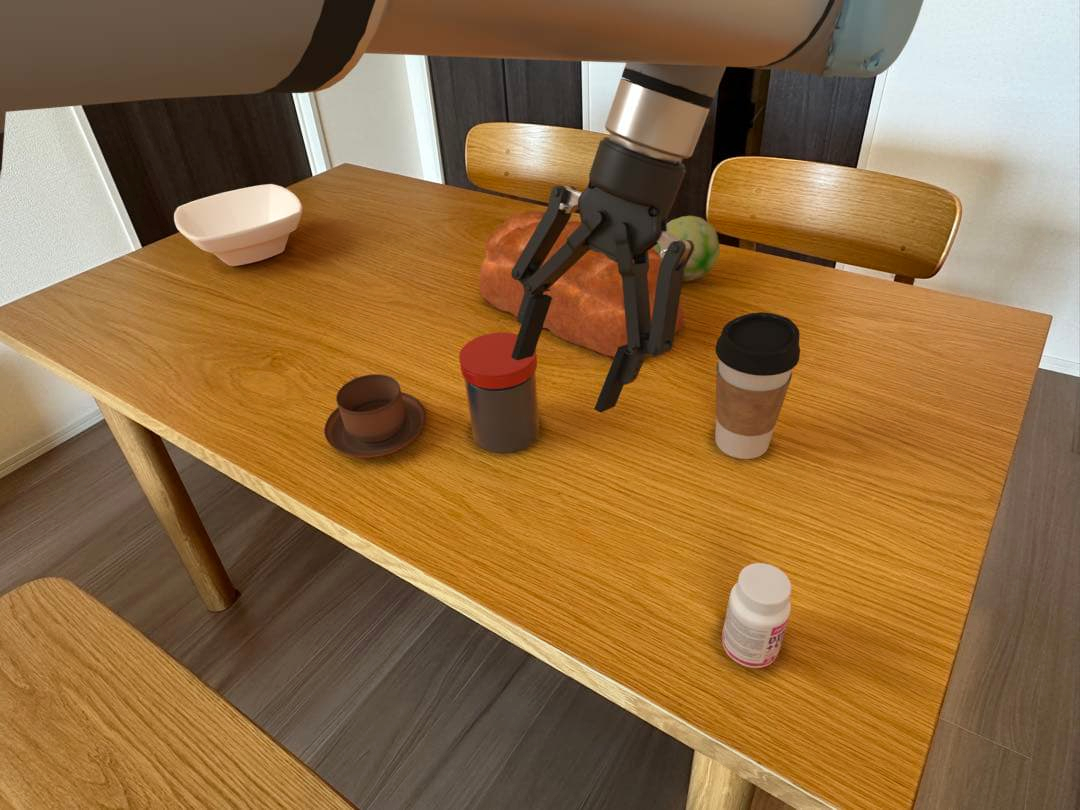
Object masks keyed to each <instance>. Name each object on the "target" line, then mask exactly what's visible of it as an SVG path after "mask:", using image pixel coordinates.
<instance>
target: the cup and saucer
mask: <svg viewBox="0 0 1080 810" xmlns="http://www.w3.org/2000/svg"><path fill="white" fill-rule="evenodd" d="M335 400H336V401H335V402H336V405H337V407H336V409H335V410H333V411H332V413H330V415H329V416H328V418H327V420H326V422H325V425H324V437H325V439H326V441H327V443H328V444H329V446H330V447H332V449H334V450H335V451H337V452H338V453H340V454H342V455H345V456H348V457H354V458H363V459H365V458H367V459H369V458H371V459H372V458H377V457H378V458H379V457H383V456H387V455H390V454H392V453H395V452H397V451H400V450H401V449H403V448H405V447H406V446H408V445H409V444H411V443H412V442H413V441H414V440H415V439H416V438H417V437H418V436H419V435H420V434H421V432H422V431H423V429H424V427H425V424H426V419H427V412H426V409H425V407H424V404H423V403H422V402H421V401H420V400H419V399H418V398H417V397H415V396H413V395H411V394H409V393H406V392H403V391H402V390H401V386H400V383H399V382H398V381H397V380H396V379H395V378H394V377H391V376H390V375H386V374H379V373H378V374H377V373H376V374H366V375H362V376H359V377H358V376H355V377H353V379H351V380H349V381H348V382H346V383H345V384H343V385H342V386H341V387H340V388H339V390H338V391H337V393H336V397H335Z"/></svg>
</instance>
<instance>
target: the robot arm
mask: <svg viewBox="0 0 1080 810" xmlns="http://www.w3.org/2000/svg"><path fill="white" fill-rule="evenodd" d="M923 4H924V0H0V178H1V177H2V170H3V158H4V157H3V156H4V144H5V131H6V128H5V127H6V117H7V116H6V115H7V113H9V112H19V111H20V112H21V111H32V110H43V109H53V108H54V109H55V108H68V107H78V106H89V105H90V106H91V105H101V104H113V103H124V102H135V101H136V102H137V101H147V100H160V99H179V98H198V97H199V98H200V97H215V96H233V95H234V96H235V95H255V94H305V93H306V94H307V93H317V92H320V91H324V90H326V89H330V88H331V87H333V86H334V85H336V84H338V83H339V82H340V81H343V80H344V79H345V78H346V76H348V75H349V74H350V73H351V72H352V70H353V69H354V68H355V67H356V66H357V65H358V63H359V62H360V60H361V59H362V57H363V56H364V54H372V55H374V54H375V55H397V56H398V55H400V56H401V55H403V56H404V55H405V56H426V57H427V56H428V57H456V58H480V59H481V58H483V59H484V58H485V59H507V60H508V59H511V60H513V59H514V60H534V61H535V60H536V61H537V60H538V61H565V62H595V63H618V64H620V63H621V64H625V65H624V67H623V68H624V69H623V71H622V73H621V78H620V80H619V83H618V86H617V89H616V91H615V95H614V98H613V99H612V100H613V101H612V103H611V106H610V110H609V112H608V115H607V118H606V121H605V125H604V128H605V130H606V132H608V133H610V134H609V136H608V137H607V136H606V137H603V139H601V140H599V142H598V146H597V149H596V153H595V156H594V159H593V162H592V165H591V167H590V171H589V173H588V178H589V179H588V184H587V186H586V188H585V189H584V190H583V191H582V192H581V191H579V190H577V188H576V187H575V186H573V185H554V186H553V187H552V188H551V191H550V195H549V199H548V204H547V208H546V210H545V214H544V216H543V217H542V219H541V221H540V223H539V224H538V226H537V228H536V229H535V231H534V233H533V235H532V236H531V238H530V240H529V241H528V243H527V245H526V247H525V248H524V250H523V252H522V254H521V255H520V257H519V259H518V260H517V262H516V264H515V266H514V267H513V269H512V272H511V275H512V277H513V279H515V280H519V282H520V283H521V284H522V285H523V287H524V296H523V299H522V302H521V305H520V309H519V312H518V315H517V317H516V321H517V323H519V324H521V325H520V328H519V331H518V337H517V340H516V343H515V347H514V350H513V353H512V356H511V357H512V358H514V359H515V360H521V359H524V358H528V357H531V356H533V355H534V352H535V349H536V350H537V345H538V342H539V339H540V337H541V333H542V330H543V328H542V327H543V324H544V321H545V318H546V315H547V312H548V309H549V306H550V303H551V300H552V297H550V296H549V295H547V294H545V295H543V293H544V292H546V291H550V290H551V289H549V288H550V287H551V286H552V285H553V284H554V283H555V282H556V281H557V280H558V279H559V278H560V277H561V276H562V275H563V274H565V273H566V272H567V271H568V270H569V269H570V268H571V267H572V266H573V265H574V264H575V263H576V262H577V261H578V260H579V259H580V258H581V257H582V256H583V255H584V254H586V253H587V252H588V251H589V250H593V251H595V252H601V253H604V254H605V255H606V256H607V257H608V258H609V259H611V260H613V261H615V262H618V271H619V274H620V275H621V276H622V284H623V296H624V308H625V319H626V331H627V343H628V344H627V345H623V346H620V347H618V349H617V352H616V354H615V357H613V359H612V362H611V364H610V367H609V370H608V373H607V375H606V377H605V380H604V383H603V385H602V387H601V390H600V392H599V395H598V397H597V399H596V402H595V405H594V410H595V411H596V412H598V413H600V414H601V413H604V412H606V411H608V410H610V409H613V408H614V407H616V406H617V403H618V400H619V397H620V395H621V393H622V392H623V391H622V390H623V388H624V386H627V385H629V384H632V383H634V382H635V380H636V379H637V378H638V376H639V374H640V371H641V369H642V366H643V364H644V362H645V359H646V357H647V356H651V357H653V358H654V357H658V356H661V355H664V354H667V353H670V351H671V350H672V349H673V345H674V338H675V334H674V332H675V326H676V319H677V313H678V306H679V300H680V301H681V299H680V298H681V294H682V286H683V281H682V280H683V274H684V268H685V266H686V264H687V262H688V260H689V258H690V256H691V255H692V253H693V251H694V244H693V242H692V241H690V240H681V239H679V238H677V237H676V236H674V235H672V234H671V233H669V232H667V223H668V222H667V219H668V215H669V213H670V212H671V209H672V207H673V205H674V203H675V200H676V198H677V196H678V193H679V190H680V187H681V185H682V182H683V180H684V178H685V176H686V172H687V170H686V169H685V168H686V166H685V164H684V163H683V162H682V161H683V159H689V158H691V157H692V156H693V154H694V151H695V148H696V146H697V144H698V141H699V139H700V136H701V134H702V130H703V128H704V126H705V123H706V120H707V117H708V115H709V112H710V109H711V107H712V104H713V102H714V99H715V98H714V97H715V95H716V93H717V90H718V88H719V85H720V83H721V81H722V79H723V76H724V74H725V71H726V68H729V67H730V68H746V69H753V70H774V71H775V70H777V71H789V72H797V73H803V74H811V75H819V76H822V77H823V78H829V79H830V78H833V77H844V78H845V77H848V78H861V79H869V78H874V77H877V76H878V75H881V74H883V73H884V72H885V71H887V70H888V69H889V68H890V67H891V66H892V65H893V64H894V63H895V62H896V61H897V59H898V58H899V57H900V56H901V53H902V52H903V50H904V49H905V47H906V45H907V43H908V41H909V39H910V37H911V35H912V33H913V32H914V29H915V27H916V24H917V22H918V19H919V16H920V12H921V10H922V6H923ZM576 211H578V213H579V218H580V222H581V223H582V224H581V225H580V226H579V227H578V228H577V229H576V230H575V231H574V232H573V233H572V234H571V235H570V236H569V237H568V238H567V242H566V243H565V244H564V245H563V246H562V247H561V248H560V249H559V250H558V251H557V252H556V253H555V254H554V255H553V256H552V257H551V258H550V259H549V260H548V261H547V262H546V263H545V264H544V265H543V266H542V267H541V265H542V264H543V262H544V260H545V259H546V257H547V255H548V254H549V252H550V250H551V249H552V247H553V246H554V244H555V242H556V241H557V239H558V237H559V236H560V234H561V232H562V231H563V229H564V227H565V226H566V224H567V222H568V221H570V219H571V216H572V214H574V213H575V212H576ZM657 244H659V245H660V253H659V257H660V258H661V260H662V262H661V264H660V267H659V272H658V278H657V285H656V292H655V299H654V306H653V313H652V320H651V315H650V303H649V290H648V277H647V273H648V271H649V256H648V250H649V249H651V248H652V249H653V248H655V245H657ZM633 260H634V263H633ZM540 267H541V268H540ZM647 354H648V355H647ZM646 355H647V356H646Z"/></svg>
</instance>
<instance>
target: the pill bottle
mask: <svg viewBox="0 0 1080 810" xmlns="http://www.w3.org/2000/svg"><path fill="white" fill-rule="evenodd" d="M791 594H792V583H791V580H790V578H789V576H788V575H787V574H786V573H785V572H784V571H783V570H782V569H780V568H779V567H777V566H775V565H773V564H770V563H766V562H755V563H750V564H747V565H746V566H745V567H743V568H742V569H741V571H740V572H739V575H738V579H737V582H736V583H735V584H734V585H733V587H732V588H731V590H730V594H729V597H728V598H729V599H728V602H727V609H726V614H725V617H724V618H725V619H724V623H723V628H722V631H721V643H722V647H723V649H724V651H725V652H726V654H727V656H728V657H730V658H731V659H732V660H733V661H735V663H738V664H739V665H741V666H744V667H746V668H749V669H750V668H751V669H761V668H764V667H768V666H770V665H771V664H772V663H773V662H774V661H775V660H776V659H777V657H778V655H779V653H780V650H781V647H782V642H783V640H784V637H785V633H786V630H787V626H788V622H789V619H790V616H791V612H792V604H791Z"/></svg>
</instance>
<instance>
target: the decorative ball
mask: <svg viewBox="0 0 1080 810" xmlns="http://www.w3.org/2000/svg"><path fill="white" fill-rule="evenodd" d="M666 223H667V232H669V233H671V234H672V235H674V236H676V237H677V238H679V239H681V240H690V241H692V242H693V244H694V251H693V253H692V255H691V256H690V258H689V260H688V262H687V264H686V266H685V268H684V274H683V280H682V283H684V282H685V283H686V282H692V281H695V280H698V279H702V278H704V277H706V275H707V274H708V273H709V272H710V271H711V270H712V269H713V268H714V267H715V266H716V264H717V262H718V259H719V256H720V253H721V249H720V247H721V246H720V241H719V237H718V233H717V229H715V227H713V225H712V224H711V223H710V222H708V221H706V220H705V219H704V218H702V217H700V216H695V215H686V216H685V215H684V216H680V217H677V218H674V219H671V220H670V221H668V222H666ZM654 250H655V251H657V252H658V253H660V245H659V244H657V245H655V246H654Z"/></svg>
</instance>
